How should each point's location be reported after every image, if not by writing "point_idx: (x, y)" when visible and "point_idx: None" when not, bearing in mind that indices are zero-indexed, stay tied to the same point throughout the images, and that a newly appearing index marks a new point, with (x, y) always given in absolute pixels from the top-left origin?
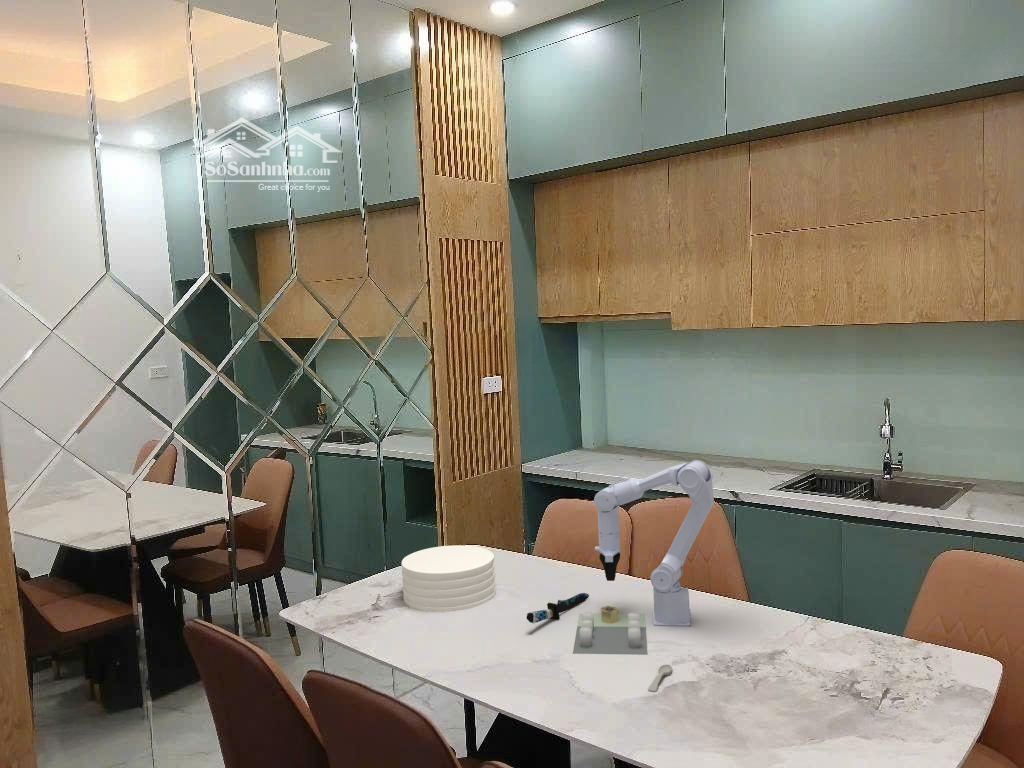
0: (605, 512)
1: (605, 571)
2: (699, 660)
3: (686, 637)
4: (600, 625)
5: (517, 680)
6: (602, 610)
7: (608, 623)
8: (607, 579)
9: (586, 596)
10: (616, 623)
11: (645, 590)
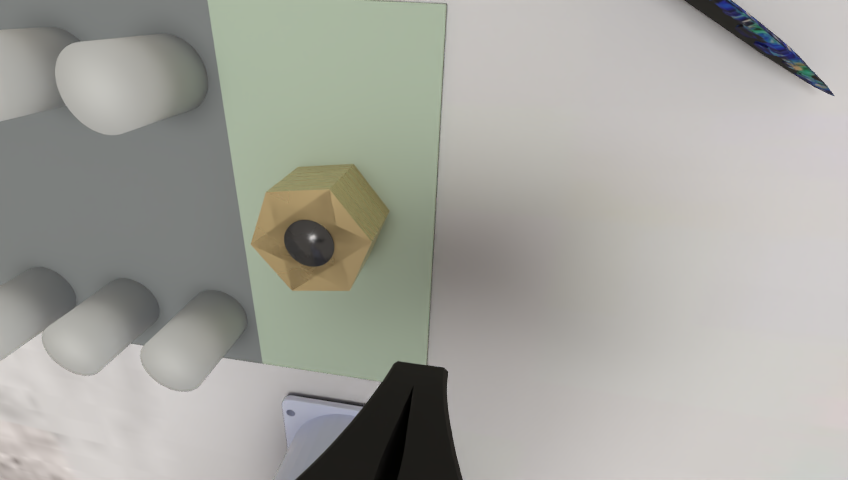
0: None
1: (342, 438)
2: (31, 450)
3: (197, 463)
4: (244, 153)
5: None
6: (280, 198)
7: None
8: (388, 374)
9: (796, 70)
10: None
11: (826, 453)
